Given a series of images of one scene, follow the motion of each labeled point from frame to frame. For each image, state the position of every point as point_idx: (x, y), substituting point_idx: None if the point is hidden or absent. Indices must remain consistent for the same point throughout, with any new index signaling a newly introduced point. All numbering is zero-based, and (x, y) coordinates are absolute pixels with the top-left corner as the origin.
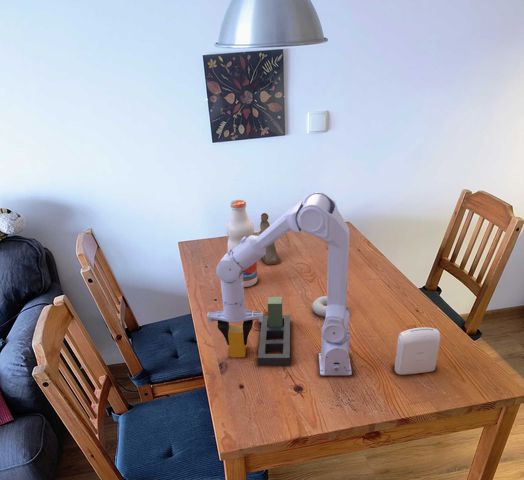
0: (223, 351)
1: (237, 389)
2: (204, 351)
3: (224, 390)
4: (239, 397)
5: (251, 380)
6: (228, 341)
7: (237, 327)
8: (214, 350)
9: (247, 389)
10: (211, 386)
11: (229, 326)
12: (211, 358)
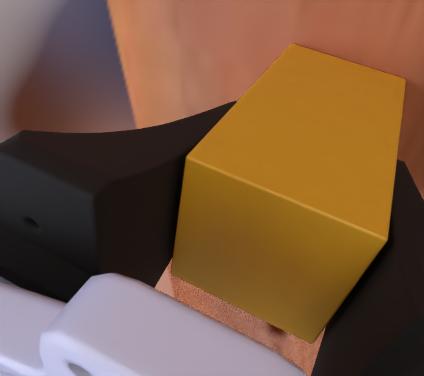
0: (227, 54)
1: (259, 329)
2: (110, 13)
3: (213, 309)
4: None
5: None
6: None
7: (275, 249)
8: (169, 21)
9: (295, 348)
10: (169, 273)
11: (183, 188)
12: (156, 104)
